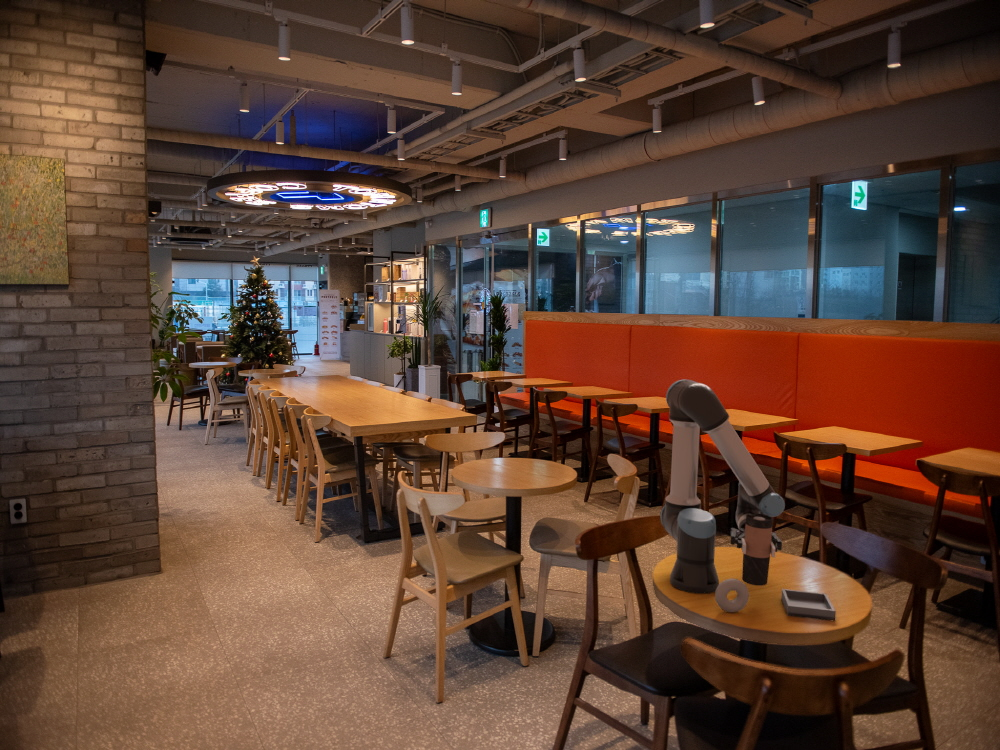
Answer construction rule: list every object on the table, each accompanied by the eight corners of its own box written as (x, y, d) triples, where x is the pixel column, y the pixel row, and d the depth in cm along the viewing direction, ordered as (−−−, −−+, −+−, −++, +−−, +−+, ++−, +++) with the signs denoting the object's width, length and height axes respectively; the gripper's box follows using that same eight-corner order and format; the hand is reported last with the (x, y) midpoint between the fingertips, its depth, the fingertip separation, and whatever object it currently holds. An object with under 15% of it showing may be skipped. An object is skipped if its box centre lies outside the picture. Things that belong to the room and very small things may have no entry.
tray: (787, 615, 199) (788, 605, 199) (781, 598, 211) (781, 588, 211) (835, 621, 196) (835, 610, 195) (825, 603, 208) (826, 593, 208)
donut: (745, 609, 203) (746, 576, 202) (750, 614, 200) (751, 580, 199) (712, 609, 202) (713, 576, 201) (716, 614, 199) (718, 581, 198)
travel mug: (765, 588, 203) (770, 522, 201) (738, 582, 207) (743, 517, 205) (770, 580, 210) (775, 516, 208) (744, 574, 214) (748, 511, 212)
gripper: (783, 543, 223) (795, 567, 201) (717, 535, 228) (722, 559, 205) (784, 520, 222) (797, 542, 200) (719, 513, 227) (723, 534, 205)
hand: (759, 551), depth 203 cm, fingers closed on travel mug, 7 cm apart
